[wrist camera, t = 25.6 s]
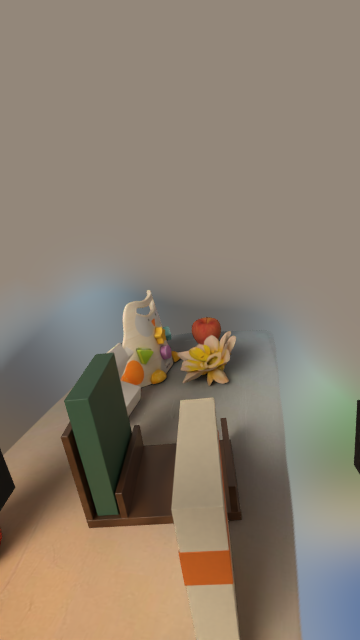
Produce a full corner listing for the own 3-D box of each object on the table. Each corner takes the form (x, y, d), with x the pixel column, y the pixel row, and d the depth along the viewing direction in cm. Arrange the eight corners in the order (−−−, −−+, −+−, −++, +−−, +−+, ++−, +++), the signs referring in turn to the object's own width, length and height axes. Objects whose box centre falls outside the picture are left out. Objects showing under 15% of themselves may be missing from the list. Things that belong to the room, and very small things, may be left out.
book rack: (231, 445, 48) (223, 366, 44) (241, 519, 37) (232, 423, 32) (113, 454, 50) (94, 379, 45) (88, 528, 38) (60, 437, 34)
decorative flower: (177, 352, 77) (181, 314, 73) (224, 357, 77) (231, 319, 73) (173, 390, 63) (178, 345, 59) (230, 397, 63) (239, 352, 59)
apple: (214, 336, 88) (210, 308, 85) (227, 345, 81) (224, 315, 79) (189, 343, 85) (185, 315, 83) (201, 353, 79) (197, 323, 76)
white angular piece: (72, 440, 54) (50, 367, 50) (110, 394, 67) (96, 332, 62) (117, 445, 51) (98, 368, 47) (148, 395, 64) (136, 331, 60)
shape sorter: (157, 395, 64) (142, 310, 58) (111, 392, 67) (92, 311, 62) (186, 351, 81) (176, 282, 75) (148, 350, 85) (136, 285, 79)
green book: (135, 448, 48) (114, 352, 43) (118, 515, 38) (88, 398, 33) (118, 450, 49) (95, 354, 43) (97, 516, 38) (63, 400, 33)
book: (230, 541, 34) (214, 396, 29) (245, 687, 24) (224, 507, 18) (202, 543, 35) (179, 399, 29) (204, 688, 24) (170, 510, 18)
